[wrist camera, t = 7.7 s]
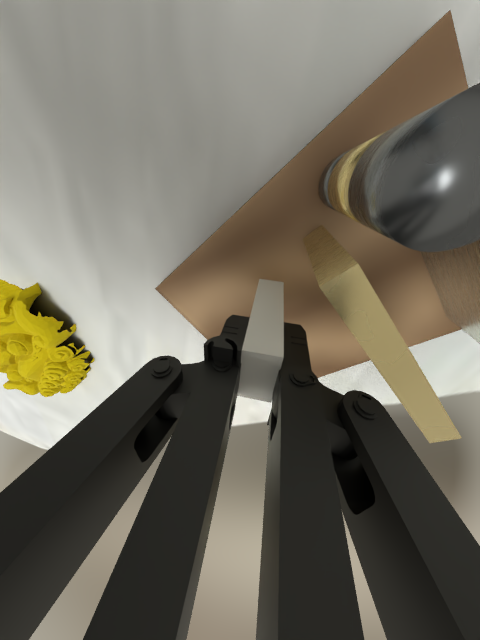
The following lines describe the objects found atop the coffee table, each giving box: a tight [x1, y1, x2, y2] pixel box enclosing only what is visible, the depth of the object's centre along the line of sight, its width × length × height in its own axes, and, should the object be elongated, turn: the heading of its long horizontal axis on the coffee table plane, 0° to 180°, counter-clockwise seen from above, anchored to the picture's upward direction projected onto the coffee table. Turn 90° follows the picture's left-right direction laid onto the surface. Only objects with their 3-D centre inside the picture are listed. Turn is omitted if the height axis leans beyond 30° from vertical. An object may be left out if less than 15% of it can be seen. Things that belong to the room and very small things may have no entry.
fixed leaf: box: [318, 83, 480, 344], centre depth 8 cm, size 12×4×9 cm, turn 40°
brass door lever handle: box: [303, 130, 461, 443], centre depth 9 cm, size 12×4×7 cm, turn 41°
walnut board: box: [155, 10, 468, 378], centre depth 15 cm, size 15×19×1 cm
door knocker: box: [0, 280, 94, 397], centre depth 24 cm, size 17×16×4 cm
